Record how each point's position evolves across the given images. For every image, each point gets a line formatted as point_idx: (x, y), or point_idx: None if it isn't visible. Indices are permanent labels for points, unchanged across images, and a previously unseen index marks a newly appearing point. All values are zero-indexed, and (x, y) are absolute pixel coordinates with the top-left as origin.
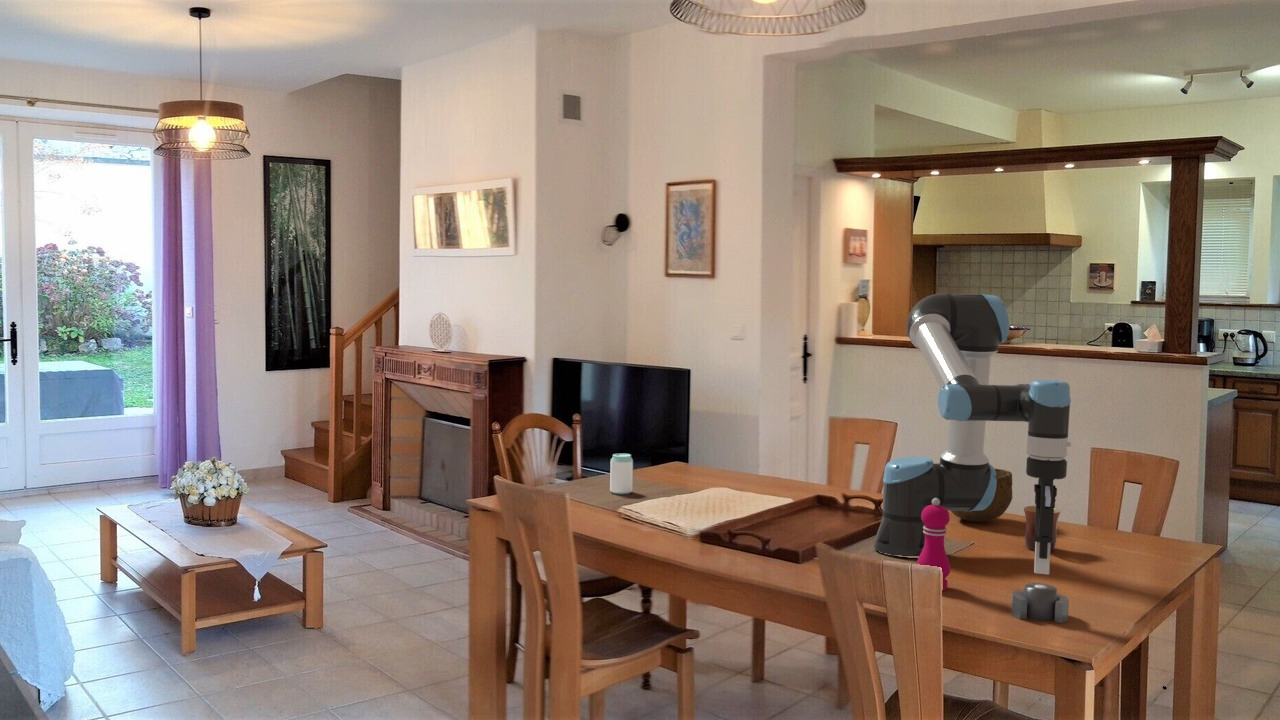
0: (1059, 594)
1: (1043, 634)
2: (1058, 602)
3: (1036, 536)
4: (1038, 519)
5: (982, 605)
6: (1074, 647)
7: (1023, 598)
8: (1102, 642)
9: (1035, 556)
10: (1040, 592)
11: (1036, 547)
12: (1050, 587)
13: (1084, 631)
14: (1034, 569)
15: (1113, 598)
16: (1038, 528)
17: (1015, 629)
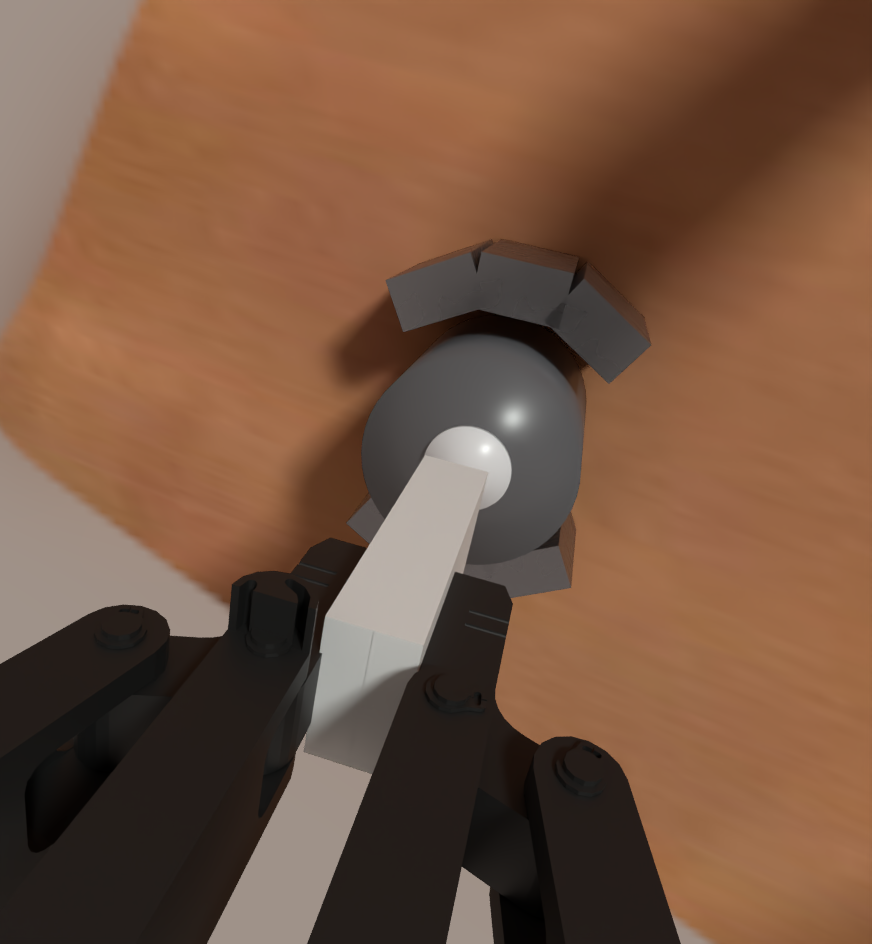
0: (545, 580)
1: (193, 318)
2: (371, 509)
3: (412, 685)
4: (38, 902)
5: (710, 69)
6: (56, 403)
7: (419, 310)
8: (159, 549)
9: (386, 522)
10: (367, 426)
11: (351, 579)
12: (474, 532)
13: (288, 536)
14: (463, 475)
15: (840, 885)
16: (135, 751)
17: (235, 180)
